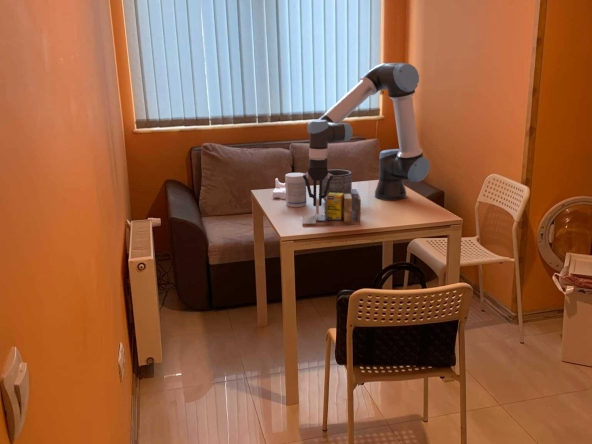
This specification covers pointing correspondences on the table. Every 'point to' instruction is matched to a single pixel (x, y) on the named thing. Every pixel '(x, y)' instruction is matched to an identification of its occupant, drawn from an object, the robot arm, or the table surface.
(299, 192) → the supplement tub
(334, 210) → the supplement box
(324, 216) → the bookend
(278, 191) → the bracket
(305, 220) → the board
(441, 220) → the table surface
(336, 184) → the planter
